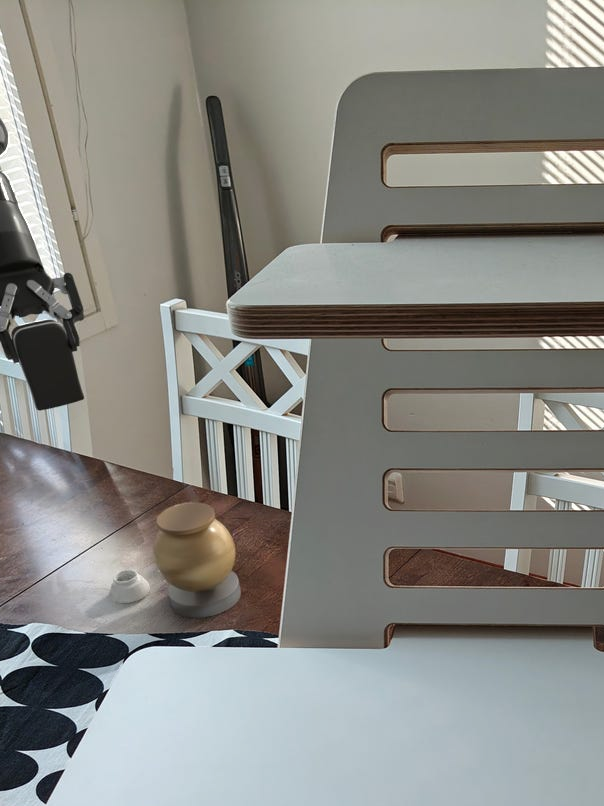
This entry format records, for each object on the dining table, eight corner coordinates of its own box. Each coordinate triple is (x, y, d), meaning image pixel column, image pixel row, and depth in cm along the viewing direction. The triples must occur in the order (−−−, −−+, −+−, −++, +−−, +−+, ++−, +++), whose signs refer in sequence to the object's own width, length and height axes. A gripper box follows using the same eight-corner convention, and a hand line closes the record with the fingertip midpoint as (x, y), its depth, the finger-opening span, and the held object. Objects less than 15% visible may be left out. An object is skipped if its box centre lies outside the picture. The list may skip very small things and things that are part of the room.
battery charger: (79, 392, 142) (56, 313, 135) (87, 400, 139) (64, 321, 132) (30, 404, 139) (4, 324, 132) (37, 413, 136) (11, 332, 129)
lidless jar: (108, 590, 130) (115, 609, 127) (102, 572, 128) (109, 590, 125) (145, 579, 132) (154, 598, 128) (140, 561, 130) (148, 579, 127)
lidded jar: (163, 624, 124) (139, 541, 116) (171, 581, 131) (148, 500, 124) (243, 615, 125) (224, 532, 117) (246, 572, 132) (228, 492, 125)
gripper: (-56, 238, 128) (-15, 352, 127) (57, 220, 133) (98, 330, 132) (-46, 269, 135) (-7, 378, 134) (61, 251, 140) (100, 356, 139)
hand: (45, 354), depth 133 cm, fingers closed on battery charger, 7 cm apart
